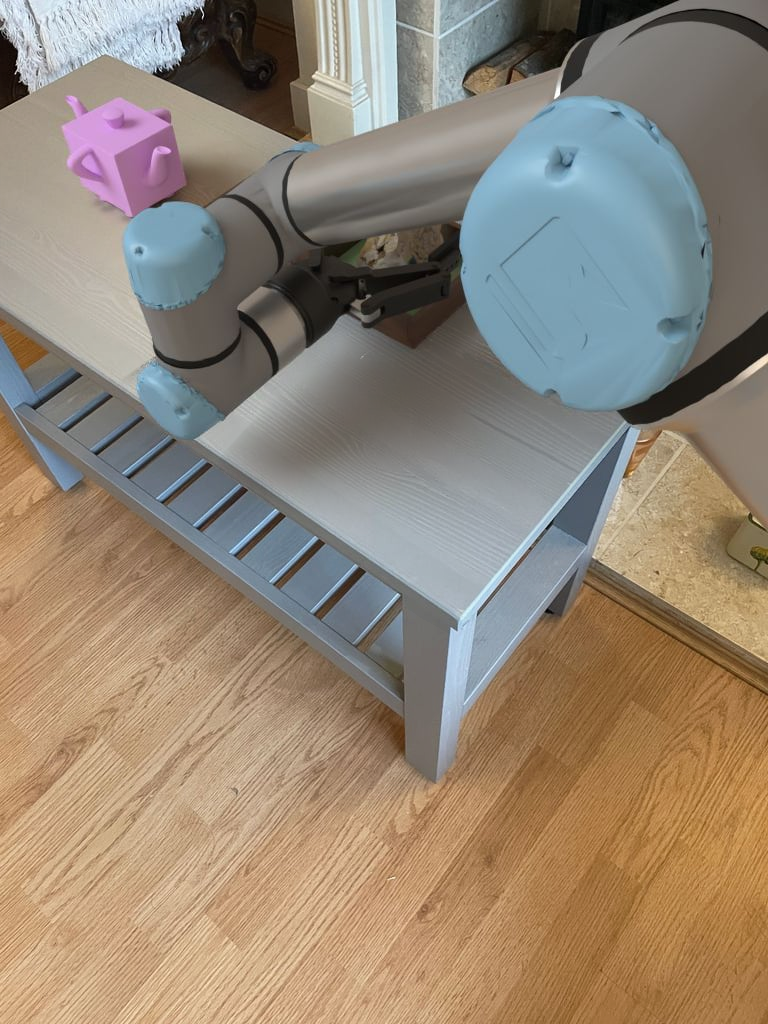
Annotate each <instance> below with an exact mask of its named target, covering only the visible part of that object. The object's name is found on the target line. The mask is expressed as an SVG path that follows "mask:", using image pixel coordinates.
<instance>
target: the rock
mask: <svg viewBox="0 0 768 1024" xmlns="http://www.w3.org/2000/svg"><path fill="white" fill-rule="evenodd" d="M441 225H442V224H441ZM441 225H435V226H430V227H425V228H419V229H414V230H409V231H403V232H398V233H393V234H387V235H382V236H377V237H372V238H367V241H366V243H365V245H364V247H363V248H362V249H361V252H360V255H359V257H358V259H357V260H356V267H357V268H358V267H365V266H368V267H370V268H371V269H381V268H388V267H395V266H403V265H410V264H417V263H424V262H428V255H429V254H430V253H432V252H433V251H434V250H435V249H436V248H438V247H439V246H440V245H441V244H442V243H444V240H443V237H442V234H441V233H440V229H441ZM426 277H428V275H427V276H426ZM359 289H361V290H364V279H360V280H359Z"/></svg>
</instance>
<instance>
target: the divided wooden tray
mask: <svg viewBox="0 0 768 1024" xmlns="http://www.w3.org/2000/svg"><path fill="white" fill-rule="evenodd" d="M253 174H254V173H252V174H251V175H253ZM251 175H249V176H248V177H246V178H244V179H243V180H242V181H240V182H238V183H237V184H235V185H234V186H232V187H231V188H229V189H227V190H226V191H225V192H223V193H222V194H220V195H218V197H216V198H215V199H213V200H211V201H210V202H208V203H207V204H205V205H204V206H202V207H203V208H207V207H208V206H209V205H211V204H212V203H214V202H215V201H216V200H218V199H219V198H221V197H223V196H224V195H226V194H227V193H229V192H230V191H231V190H233V189H234V188H235V187H237V186H238V185H239V184H241V183H242V182H243V181H245V180H246V179H247V178H249V177H250V176H251ZM461 226H462V223H459V222H451V223H446V224H442V225H441V229H440V233H441V234H442V237H443V240H444V242H445V241H446V240H447V239H448V238H450V237H451V236H452V235H453V234H454V233H456V232H457V231H458V230H459V229H460V228H461ZM366 241H367V238H366V239H361V240H356V241H350V242H345V243H340V244H335V245H332V246H328V247H324V256H331V255H333V256H335V257H337V258H338V259H340V260H341V261H342V262H344V263H348V264H351V265H353V266H355V267H356V260H357V259H358V257H359V255H360V252H361V249H362V248H363V247H364V245H365V243H366ZM308 257H309V250H308V251H305V252H303V253H302V254H300V255H299V256H297V257H296V258H295V259H294V260H293V261H292V262H294V261H299V260H305V259H308ZM462 264H463V258H462V256H461V257H460V263H459V265H458V267H457V268H456V269H454V270H453V271H452V272H451V292H450V297H449V298H447V299H445V300H442V301H438V302H435V303H432V304H429V305H426V306H423V307H420V308H417V309H414V310H411V311H408V312H405V313H402V314H399V315H395V316H392V317H389V318H386V319H384V320H382V321H381V322H379V323H378V324H376V325H375V326H374V327H372V328H371V329H374V330H375V331H378V332H380V333H381V334H383V335H386V336H387V337H389V338H390V339H393V340H394V341H396V342H398V343H400V344H402V345H403V346H406V347H407V348H409V349H411V350H415V349H417V347H418V346H420V344H422V343H423V342H424V341H426V339H427V338H428V337H429V336H430V335H432V334H433V333H434V332H435V331H436V330H437V329H438V328H439V327H441V325H443V323H444V322H446V321H447V320H448V319H449V318H450V317H452V315H453V314H454V313H456V312H457V311H458V310H459V309H460V308H461V307H462V306H463V305H464V304H465V303H467V300H466V297H465V293H464V289H463V285H462V280H461V268H462ZM356 268H357V267H356ZM359 291H363V290H361V289H359ZM347 315H348V316H350V317H352V318H354V319H355V320H357V321H359V322H361V318H359V317H358V316H356V315H355V314H353V313H352V312H351V313H348V314H347Z"/></svg>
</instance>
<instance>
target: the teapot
mask: <svg viewBox="0 0 768 1024" xmlns="http://www.w3.org/2000/svg"><path fill="white" fill-rule="evenodd" d="M64 99H65V101H66V103H67V104H68V105H69V106H70V107H71V109H72V111H73V112H74V115H75V117H76V118H74V119H72V120H71V121H69V122H67V123H65V124H62V125H61V130H62V133H63V137H64V139H65V141H66V142H65V143H66V145H67V147H68V150H69V152H70V155H69V156H68V158H67V160H66V166H67V169H68V170H69V171H70V172H71V173H72V174H74V175H75V176H77V177H78V179H79V181H80V184H81V186H82V187H84V188H85V189H87V190H89V191H90V192H92V193H94V194H95V195H97V196H98V197H99V199H100V200H101V201H103V202H108V203H109V204H111V205H113V206H115V207H117V208H118V209H119V210H121V211H123V212H124V213H125V215H126V217H129V218H134V217H135V216H136V215H137V214H139V213H140V212H142V211H143V210H145V209H147V208H151V207H152V206H153V205H156V204H157V203H158V202H160V201H161V200H163V199H169V198H171V197H173V196H174V195H175V193H176V192H177V191H178V190H180V189H182V188H184V187H186V186H187V179H186V176H185V171H184V168H183V164H182V163H183V162H182V159H181V154H180V150H179V147H178V143H177V138H176V134H175V131H174V126H173V125H172V124H171V123H172V114H171V112H170V110H168V109H166V108H162V107H161V108H155V109H152V110H149V111H147V110H145V109H143V108H141V107H139V106H138V105H135V104H134V103H132V102H130V101H128V100H125V99H124V98H122V97H120V96H118V97H116V98H114V99H112V100H110V101H108V102H106V103H104V104H102V105H99V106H98V107H96V108H94V109H91V110H90V111H88V110H87V108H86V107H85V106H84V104H83V103H82V102H81V101H80V100H79V99H78V98H77V97H75V96H73V95H65V96H64Z"/></svg>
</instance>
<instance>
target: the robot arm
mask: <svg viewBox="0 0 768 1024" xmlns="http://www.w3.org/2000/svg"><path fill="white" fill-rule="evenodd" d="M252 174H253V175H252ZM252 174H251V175H249V176H250V177H249V176H248V177H249V178H248V177H246V178H247V179H246V178H245V179H246V180H245V179H244V180H245V181H243V180H242V181H243V182H242V181H241V182H242V183H241V184H239V183H238V184H239V185H238V186H237V187H235V188H234V189H233V190H231V191H230V192H229V193H227V194H226V195H224V196H223V197H221V198H219V199H218V200H216V201H215V202H214V203H212V204H211V205H209V206H208V207H207V208H203V207H204V206H201V205H198V204H196V203H192V202H189V201H188V202H187V201H179V200H178V201H166V202H163V203H162V204H161V206H158V207H148V208H146V209H145V210H143V211H142V212H140V213H139V214H137V215H136V216H135V217H132V219H130V221H129V223H127V225H126V227H125V229H124V232H123V235H122V251H123V255H124V262H125V266H126V270H127V274H128V278H129V283H130V287H131V289H132V291H133V292H132V293H133V294H134V295H135V297H136V299H137V302H138V305H139V308H140V310H141V313H142V315H143V318H144V320H145V323H146V325H147V329H148V331H149V334H150V336H151V343H152V349H153V353H154V355H155V360H154V361H152V360H151V361H150V362H148V363H147V366H146V367H144V369H143V370H142V371H141V372H139V374H138V375H137V377H136V383H135V390H136V393H137V395H138V396H137V397H138V398H139V400H140V402H141V404H142V405H143V407H144V408H145V410H146V412H148V414H149V415H150V416H151V417H152V419H153V420H154V421H155V422H156V423H157V424H158V425H159V426H160V427H161V428H162V429H164V430H165V431H166V432H168V433H169V434H171V435H172V436H174V437H176V438H178V439H181V440H184V441H191V440H196V439H197V438H199V437H200V436H203V434H204V433H206V432H208V431H209V430H211V429H212V428H213V427H215V426H216V425H218V424H219V423H220V422H223V421H225V420H226V419H227V417H228V416H229V415H231V413H232V412H234V411H235V410H236V409H237V408H238V407H240V406H241V405H242V404H243V403H244V402H246V401H247V400H248V399H249V398H250V397H251V396H252V395H254V394H255V393H256V392H257V391H259V390H260V389H261V388H262V387H263V386H265V384H267V383H268V382H269V381H270V380H271V379H272V378H273V377H275V376H276V375H277V374H279V373H280V372H281V371H282V370H284V369H285V368H286V367H287V366H288V365H290V364H291V363H292V362H294V361H295V360H296V359H297V358H298V357H299V356H301V355H302V353H304V351H305V350H306V349H309V348H310V347H312V346H313V345H314V344H316V343H317V342H318V341H319V340H320V339H321V338H323V337H324V336H325V335H326V334H327V333H329V332H330V331H331V330H332V328H333V327H334V326H335V324H336V322H337V321H338V319H339V318H340V317H343V316H345V315H348V313H351V312H352V313H353V314H355V315H356V316H358V317H359V318H361V321H360V324H361V327H362V328H363V329H367V330H369V329H373V328H372V327H374V326H375V325H376V324H378V323H379V322H381V321H382V320H384V319H386V318H389V317H392V316H395V315H399V314H402V313H405V312H408V311H411V310H414V309H417V308H420V307H423V306H426V305H429V304H432V303H435V302H438V301H442V300H445V299H447V298H449V297H450V292H451V272H452V271H453V270H454V269H456V268H457V267H458V265H459V263H460V257H461V256H462V258H463V264H462V268H461V280H462V285H463V289H464V293H465V297H466V300H467V301H466V303H467V306H468V309H469V311H470V314H471V317H472V319H473V322H474V323H475V326H476V327H477V329H478V331H479V333H480V334H481V336H482V338H483V339H484V341H485V343H486V344H487V346H488V347H489V349H490V351H491V352H492V353H493V354H494V356H495V357H496V358H497V359H498V360H499V362H500V363H501V364H502V365H503V366H504V367H505V368H506V369H507V370H508V372H510V374H512V375H513V376H514V377H515V378H516V379H517V380H518V381H519V382H520V383H522V384H523V385H525V386H526V387H527V388H528V389H530V390H532V391H533V392H534V393H536V394H538V395H540V396H542V397H544V398H549V397H551V396H553V395H558V396H559V398H560V400H561V403H562V405H563V407H566V408H569V409H573V410H578V411H583V412H591V413H604V412H608V413H609V412H614V411H616V412H617V414H618V415H619V416H620V417H621V418H622V419H623V420H624V421H625V422H626V423H627V424H628V425H629V426H630V427H631V428H632V429H635V430H641V431H642V430H643V431H665V432H666V431H667V432H677V433H679V434H680V435H681V436H682V437H683V438H684V439H685V441H686V442H687V443H688V444H689V445H690V446H691V447H692V448H693V450H694V451H695V452H696V453H697V454H698V455H699V457H700V458H701V459H702V460H703V461H704V462H705V463H706V464H707V465H708V467H709V468H710V469H711V470H712V472H714V473H715V474H716V476H717V477H718V478H719V479H720V481H722V482H723V483H724V485H725V486H726V487H727V488H728V489H729V490H730V492H732V494H733V495H734V496H735V497H736V498H737V499H738V500H739V502H740V503H741V504H742V505H743V506H744V507H745V508H746V509H747V511H748V512H749V513H750V514H751V516H753V517H754V518H755V520H756V521H757V522H758V523H759V524H760V525H761V526H762V527H763V528H764V530H765V531H766V532H767V533H768V0H677V1H674V2H672V3H670V4H668V5H665V6H663V7H661V8H658V9H655V10H653V11H651V12H649V13H646V14H644V15H642V16H639V17H637V18H635V19H632V20H630V21H627V22H625V23H623V24H620V25H618V26H615V27H613V28H609V29H607V30H604V31H601V32H598V33H596V34H593V35H590V36H587V37H585V38H583V39H581V40H579V41H578V42H577V43H575V44H574V45H573V46H572V47H571V48H570V49H569V51H568V53H567V54H566V55H565V57H564V60H563V62H562V64H561V66H560V67H555V68H552V69H549V70H548V71H544V72H541V73H538V74H535V75H533V76H529V77H526V78H523V79H521V80H518V81H514V82H511V83H509V84H506V85H502V86H500V87H497V88H494V89H490V90H488V91H485V92H482V93H479V94H476V95H473V96H470V97H467V98H464V99H460V100H458V101H455V102H452V103H449V104H446V105H442V106H440V107H437V108H435V109H434V108H433V109H431V110H428V111H425V112H422V113H419V114H416V115H413V116H410V117H408V118H404V119H402V120H398V121H396V122H395V121H394V122H392V123H389V124H386V125H384V126H380V127H377V128H374V129H371V130H368V131H366V132H362V133H360V134H359V133H358V134H357V135H353V136H350V137H347V138H344V139H342V140H339V141H335V142H333V143H329V144H326V145H322V144H321V145H319V144H316V143H315V142H313V141H302V142H299V143H296V144H294V145H292V146H291V147H290V148H288V149H286V150H283V151H281V152H279V153H278V154H276V155H273V156H272V157H271V158H269V160H267V162H266V163H265V164H264V165H263V166H262V167H261V168H259V169H258V170H257V171H255V172H254V173H252ZM461 221H462V222H461ZM451 222H456V223H458V222H461V225H462V226H461V228H460V229H459V230H458V231H457V232H456V233H454V234H453V235H452V236H451V237H450V238H448V239H447V240H446V241H445V242H444V243H442V244H441V245H440V246H439V247H438V248H436V249H435V250H434V251H433V252H432V253H430V254H429V255H428V262H424V263H417V264H410V265H403V266H395V267H388V268H381V269H371V268H370V267H368V266H365V267H358V268H356V267H355V266H353V265H351V264H348V263H344V262H342V261H341V260H340V259H338V258H337V257H335V256H333V255H331V256H324V247H328V246H332V245H335V244H340V243H345V242H350V241H356V240H361V239H366V238H372V237H377V236H382V235H387V234H393V233H398V232H403V231H409V230H414V229H419V228H425V227H430V226H435V225H441V224H446V223H451ZM308 250H309V257H308V259H305V260H299V261H294V262H292V261H293V260H294V259H295V258H296V257H297V256H299V255H300V254H302V253H303V252H305V251H308ZM427 275H428V277H426V276H427ZM360 279H364V290H363V291H359V280H360Z"/></svg>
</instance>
